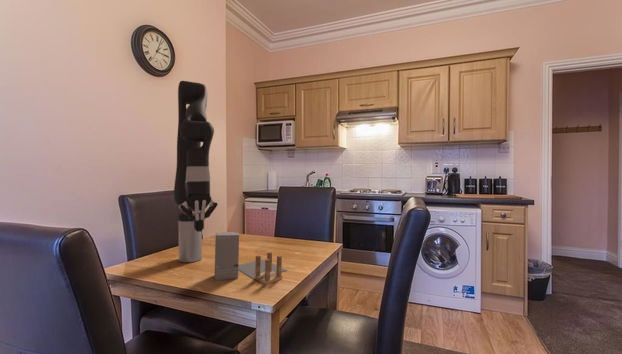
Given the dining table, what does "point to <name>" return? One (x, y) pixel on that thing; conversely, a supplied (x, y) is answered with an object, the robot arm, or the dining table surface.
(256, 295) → the dining table surface
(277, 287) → the dining table surface
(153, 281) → the dining table surface
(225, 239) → the skincare box
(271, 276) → the stool
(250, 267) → the mat
